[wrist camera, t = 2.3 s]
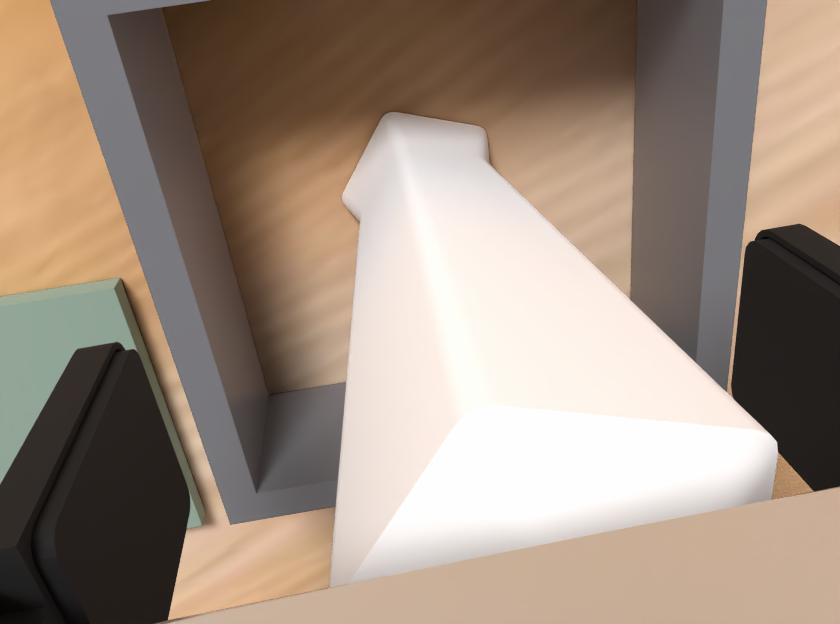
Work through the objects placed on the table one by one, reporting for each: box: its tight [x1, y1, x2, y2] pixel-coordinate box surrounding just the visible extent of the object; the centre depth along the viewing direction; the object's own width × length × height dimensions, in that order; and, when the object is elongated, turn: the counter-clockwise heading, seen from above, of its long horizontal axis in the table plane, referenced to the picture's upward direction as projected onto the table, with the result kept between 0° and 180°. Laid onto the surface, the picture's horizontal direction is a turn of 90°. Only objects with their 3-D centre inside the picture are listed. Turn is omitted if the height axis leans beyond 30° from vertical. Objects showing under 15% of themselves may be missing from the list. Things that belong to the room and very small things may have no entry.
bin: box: [50, 0, 767, 525], centre depth 16 cm, size 12×12×4 cm
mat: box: [0, 278, 205, 529], centre depth 19 cm, size 8×8×1 cm
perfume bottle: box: [329, 112, 778, 588], centre depth 11 cm, size 5×4×15 cm
